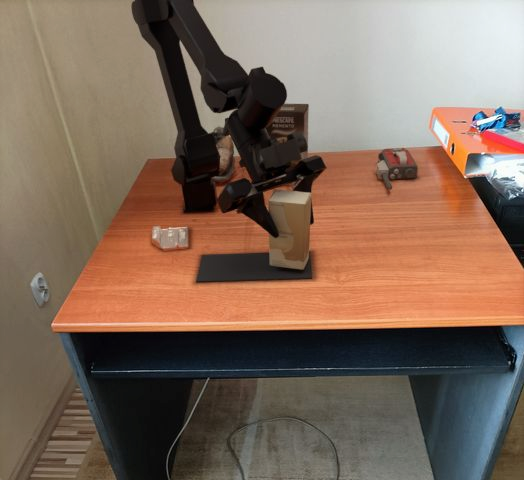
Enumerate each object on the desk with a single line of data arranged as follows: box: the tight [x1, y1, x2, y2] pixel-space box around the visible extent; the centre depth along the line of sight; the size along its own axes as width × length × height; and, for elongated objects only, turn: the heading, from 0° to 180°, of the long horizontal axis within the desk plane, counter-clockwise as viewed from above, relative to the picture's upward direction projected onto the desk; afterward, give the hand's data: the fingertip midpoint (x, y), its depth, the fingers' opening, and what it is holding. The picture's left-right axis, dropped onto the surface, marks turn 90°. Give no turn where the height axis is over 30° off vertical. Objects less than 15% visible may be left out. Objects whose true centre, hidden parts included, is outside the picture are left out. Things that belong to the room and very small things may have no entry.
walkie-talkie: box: [375, 147, 419, 191], centre depth 117 cm, size 9×4×20 cm
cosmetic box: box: [268, 188, 312, 270], centre depth 86 cm, size 6×4×12 cm
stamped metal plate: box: [151, 225, 190, 252], centre depth 101 cm, size 8×7×2 cm
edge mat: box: [195, 250, 313, 284], centre depth 92 cm, size 20×9×1 cm, turn 88°
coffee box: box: [266, 103, 310, 186], centre depth 115 cm, size 9×6×16 cm
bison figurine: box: [210, 125, 236, 183], centre depth 121 cm, size 12×7×10 cm, turn 176°
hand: (294, 230), depth 85 cm, fingers closed on cosmetic box, 7 cm apart
